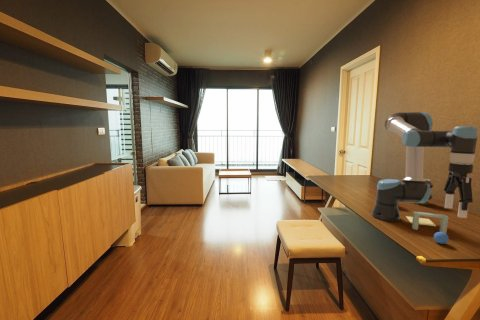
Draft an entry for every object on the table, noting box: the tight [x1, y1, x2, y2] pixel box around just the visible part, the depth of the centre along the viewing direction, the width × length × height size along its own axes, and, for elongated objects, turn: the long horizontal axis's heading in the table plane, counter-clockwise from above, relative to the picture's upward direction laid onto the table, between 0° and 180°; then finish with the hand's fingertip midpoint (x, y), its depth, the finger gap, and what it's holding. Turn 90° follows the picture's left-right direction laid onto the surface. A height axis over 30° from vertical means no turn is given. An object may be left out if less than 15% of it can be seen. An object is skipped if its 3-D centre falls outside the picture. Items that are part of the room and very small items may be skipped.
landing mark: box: [405, 215, 437, 227], centre depth 144 cm, size 12×12×1 cm
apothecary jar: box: [416, 178, 434, 206], centre depth 178 cm, size 12×12×18 cm
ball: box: [433, 231, 450, 245], centre depth 116 cm, size 6×6×6 cm
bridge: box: [411, 210, 449, 234], centre depth 130 cm, size 3×14×9 cm, turn 69°
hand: (454, 212), depth 105 cm, fingers open, 12 cm apart
